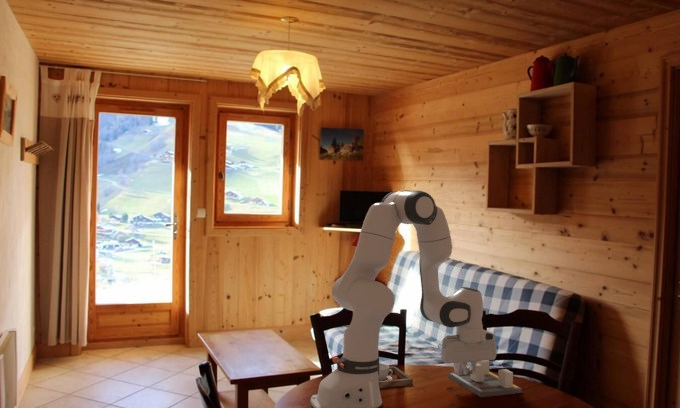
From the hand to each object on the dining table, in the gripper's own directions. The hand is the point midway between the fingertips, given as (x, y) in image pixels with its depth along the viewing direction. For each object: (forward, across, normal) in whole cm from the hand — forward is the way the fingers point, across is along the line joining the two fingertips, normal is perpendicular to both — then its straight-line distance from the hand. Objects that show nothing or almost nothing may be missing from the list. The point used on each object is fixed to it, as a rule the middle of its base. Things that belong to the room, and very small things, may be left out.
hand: (468, 373), depth 190 cm
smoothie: (+4, +5, +14) cm, 16 cm away
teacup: (+5, -27, +15) cm, 32 cm away
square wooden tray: (+4, -26, +13) cm, 29 cm away
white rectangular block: (+2, +4, 0) cm, 4 cm away
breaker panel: (+4, +6, 0) cm, 7 cm away
